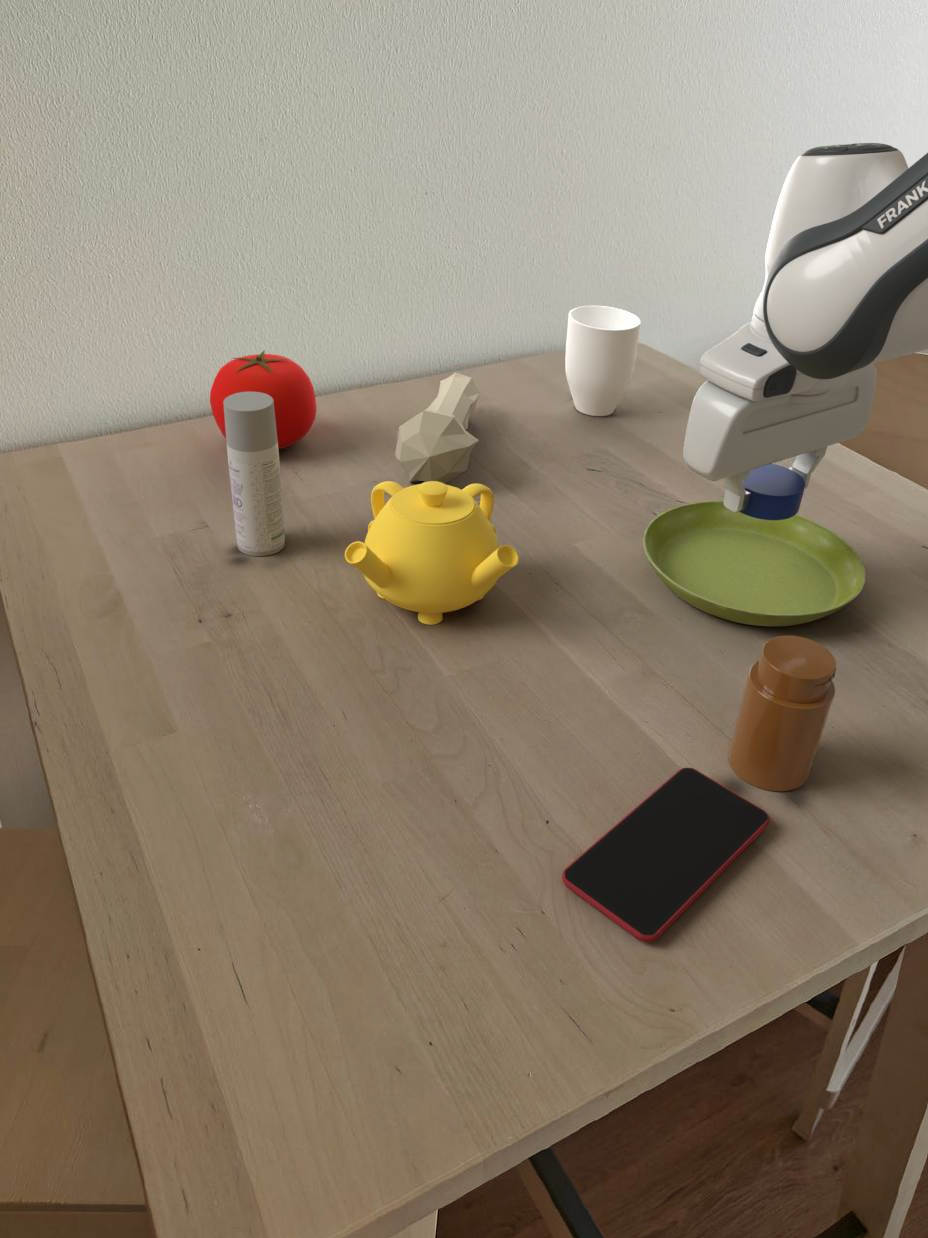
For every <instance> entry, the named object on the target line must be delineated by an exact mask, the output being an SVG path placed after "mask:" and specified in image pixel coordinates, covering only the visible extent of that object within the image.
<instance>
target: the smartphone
mask: <svg viewBox="0 0 928 1238" xmlns="http://www.w3.org/2000/svg"><path fill="white" fill-rule="evenodd" d="M769 824H770V816H769V813H767V811H766V810H764V809H762V808H761V807H760V806H758V805H756V804H754V803H753V802H751V801H749V800H748V799H746V798H745V797H743V796H741V795H739V794H738V793H736V792H734V791H733V790H731V789H729V788H728V787H726V786H724V785H722V784H721V783H719V782H718V781H716V780H714V779H712V778H710V777H709V776H707V775H705V774H704V773H702V772H700V771H699V770H698V769H695V768H693V767H682V768H680V769H678V770H677V771H676V772H675V773H674V774H673V775H672V776H670V777H669V778H668V779H667V780H666V781H664V783H662V784H661V785H660V786H659V787H658V788H657V789H655V790H654V791H653V792H652V793H651V794H649V796H647V797H646V798H645V799H644V800H642V801H641V803H639V804H638V805H637V806H635V808H634V809H632V810H631V811H630V812H629V813H628V814H626V816H624V817H623V818H621V820H620V821H618V822H617V823H616V824H615V825H614V826H613V827H611V828H610V829H609V830H608V831H607V832H606V833H604V835H601V837H600V838H599V839H597V841H595V842H594V843H593V844H592V845H591V846H589V847H588V848H587V849H586V850H585V851H584V852H582V853H581V854H580V855H579V856H578V857H577V858H575V859H574V860H573V861H572V862H571V863H570V864H568V866H567V867H565V868H564V869H563V871H562V874H561V880H562V883H563V885H564V886H565V887H566V888H567V889H568V890H570V891H571V892H572V893H574V894H575V895H577V896H578V897H579V898H581V899H582V900H583V901H585V902H586V903H588V904H589V905H590V906H592V907H593V908H594V909H596V910H597V911H598V912H600V913H601V914H603V915H604V916H605V917H607V918H608V919H609V920H611V921H612V922H614V923H615V924H616V925H618V926H619V927H621V928H622V929H623V930H624V931H626V932H627V933H629V934H630V935H631V936H632V937H634V938H636V939H637V940H638V941H641V942H644V943H651V942H653V941H655V940H657V939H658V938H659V937H660V936H661V935H662V934H663V933H664V932H665V931H666V930H667V929H668V928H669V927H670V926H671V925H672V924H673V923H674V922H675V920H677V918H679V917H680V915H682V913H684V911H686V909H687V908H688V907H690V905H691V904H693V902H694V901H695V900H696V899H697V898H698V897H699V896H700V895H701V894H702V893H703V892H704V891H705V890H706V889H707V888H708V887H709V886H710V885H711V884H712V883H713V882H714V881H715V880H716V879H717V878H718V877H719V876H720V875H721V874H722V873H723V872H724V871H725V870H726V869H727V868H728V867H729V866H730V865H731V864H732V863H733V862H734V861H735V860H736V859H737V858H738V857H739V856H740V855H741V854H742V853H743V852H744V851H745V850H746V849H747V847H748V846H749V845H751V843H752V842H753V841H754V840H756V838H757V837H758V836H759V835H760V834H761V833H762V832H763V831H764V830H765V829H766V828H767V827H768V826H769Z"/></svg>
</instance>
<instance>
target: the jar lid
mask: <svg viewBox="0 0 928 1238" xmlns="http://www.w3.org/2000/svg"><path fill="white" fill-rule="evenodd" d="M788 468H789V467H785V466H783V465H779V464H776V463H772V464H769V465H765V466H762V467H759V468H756V469H753V470H750V473H749V477H748V479H746V480H743V482H744V487H745V489H746V490H748V491H750V492H752V495H751V499H750V501H749V503H750V504H749V507H748V508H746V509H743V510H740V511H739V512H741V513H743V514H745V515H748V516H751V517H754V518H758V519H763V520H784V519H788V518H791V517H793V516H795V515H798V513H799V511H800V507H801V503H802V500H803V496H804V493H805V481H804V479H803V478H802V477H801V476H800V475H799V474H798V473H796V472H794V471H793V470H791V469H788Z"/></svg>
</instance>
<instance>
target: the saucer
mask: <svg viewBox="0 0 928 1238" xmlns="http://www.w3.org/2000/svg"><path fill="white" fill-rule="evenodd" d="M723 501H724V500H706V501H705V500H704V501H698V502H690V503H687V504H686V503H685V504H682V505H678V506H675V507H672V508H669V509H667V510H665V511H663V512H661V513H660V514H658V515H657V516H655V517H654V518H653V519H652V520H651V521H650V522H649V523H648V525H647V526H646V528H645V530H644V532H643V539H642V544H643V550H644V553H645V555H646V557H647V560H648V562H649V564H650V566H651V567H652V569H653V571H654V572H655V573H656V575H657V576H658V578H659V579H660V580H661V581H662V582H663V583H664V585H666V586H667V588H668V589H670V591H672V592H673V593H674V594H675V595H677V597H679V598H681V600H683V601H685V602H686V603H688V604H689V605H691V606H692V607H694V608H696V609H699V610H701V611H702V612H705V613H707V614H709V615H712V616H714V617H718V618H720V619H723V620H726V621H731V622H734V623H738V624H744V625H750V626H756V627H790V626H798V625H802V624H806V623H811V622H813V621H817V620H819V619H823V618H825V617H827V616H830V615H832V614H834V613H835V612H837V611H839V610H841V609H843V608H844V607H846V606H847V605H848V604H850V603H851V602H852V601H853V600H854V599H855V598H856V597H857V596H859V594H860V593H861V592H862V590H863V588H864V585H865V583H866V569H865V565H864V563H863V561H862V560H861V557H860V556H859V555H858V554H857V552H856V551H855V550H854V548H853V547H852V546H851V545H850V544H849V543H848V542H847V541H846V540H844V538H842V537H840V536H839V535H838V534H836V533H835V532H833V531H832V530H830V529H829V528H827V527H825V526H823V525H822V524H820V523H817V522H815V521H814V520H811V519H809V518H807V517H804V516H802V515H799V514H796V515H795V516H793V517H791V518H788V519H784V520H763V519H758V518H754V517H751V516H748V515H745V514H743V513H741V512H739V511H737V512H733V511H731V510H729V509H728V508H726V507H725V506H724V503H723Z"/></svg>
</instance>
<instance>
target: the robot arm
mask: <svg viewBox="0 0 928 1238" xmlns="http://www.w3.org/2000/svg"><path fill="white" fill-rule="evenodd" d="M767 240H768V241H767V244H766V248H765V249H766V250H765V255H764V265H765V277H764V278H765V279H764V282H763V283H764V284H763V287H762V290H761V292H760V293H759V296H758V298H757V299H756V301H755V305H754V308H753V312H752V317H751V321H750V322H747V323H745V324H744V325H743V326H741V327H740V328H739V329H738V330H737V331H735V332H734V333H733V334H731V335H730V336H729V337H727V338H725V339H724V340H723V341H721V342H719V343H717V344H716V345H714V346H713V347H711V348H709V349H708V350H707V351H706V352H704V353H703V354H702V356H701V358H700V361H699V366H698V374H699V376H700V377H701V378H703V379H705V380H706V381H705V382H704V383H702V384H701V386H700V387H698V390H697V392H696V393H695V395H694V398H693V400H692V404H691V406H690V412H689V416H688V420H687V425H686V429H685V434H684V435H685V436H684V440H683V448H682V458H683V461H684V462H685V464H686V466H687V468H688V469H690V470H691V471H693V472H694V473H696V474H697V475H699V476H701V477H702V478H705V479H706V480H708V481H711V482H717V481H720V480H721V481H722V483H723V485H724V489H725V492H724V496H723V500H722V501H723V503H724V506H725V507H726V508H728V509H729V510H731V511H733V512H737V511H740V510H743V509H746V508H748V507H749V504H750V503H749V501H750V499H751V495H752V492H750V491H748V490H746V489H745V487H744V482H743V480H746V479H748V477H749V473H750V470H753V469H756V468H759V467H762V466H765V465H769V464H776V463H778V462H781V461H784V460H788V459H791V458H794V457H796V458H795V460H794V462H793V463H792V465H791V467H787V468H788V469H791V470H793V471H794V472H796V473H798V474H799V475H800V476H801V477H802V478H803V479H804V481H805V489H807V488H808V487H809V483H810V479H811V476H812V474H813V472H814V471H815V470H816V469H817V467H818V465H819V464H820V462H821V461H822V460H823V458H824V457H825V455H826V452H827V449H828V447H830V446H832V445H836V444H839V443H842V442H846V441H850V440H853V439H855V438H858V437H859V436H860V435H861V434H862V433H863V431H864V430H865V428H866V427H867V426H868V423H869V419H870V415H871V412H872V409H873V408H872V407H873V402H874V397H875V393H876V385H877V378H878V370H877V367H876V365H875V364H878V363H881V362H884V361H885V362H886V361H889V360H893V359H898V358H900V357H906V356H908V355H913V354H917V353H919V352H923V351H926V350H928V152H926V153H925V154H924V155H923V156H922V157H920V158H919V159H918V160H917V161H916V162H915V163H913V164H912V165H910V166H909V165H908V163H907V160H906V158H905V156H904V153H903V152H902V151H900V149H898V148H897V147H894V146H892V145H890V144H886V143H881V142H868V143H867V142H862V143H861V142H859V143H857V142H856V143H851V144H849V143H848V144H833V145H832V144H831V145H824V146H823V145H821V146H816V147H813V148H810V149H807V150H806V151H804V152H803V153H802V154H800V155H799V156H798V157H797V158H796V159H795V161H794V162H793V164H792V166H791V167H790V169H789V171H788V173H787V176H786V177H785V180H784V182H783V186H782V188H781V191H780V193H779V197H778V200H777V203H776V207H775V212H774V214H773V218H772V223H771V227H770V231H769V235H768V239H767ZM805 489H804V490H805Z"/></svg>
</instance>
